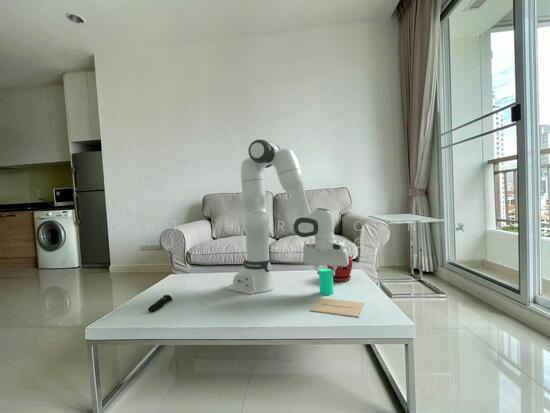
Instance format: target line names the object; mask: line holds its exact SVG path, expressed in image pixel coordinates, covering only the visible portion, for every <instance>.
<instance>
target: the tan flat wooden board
mask: <svg viewBox="0 0 550 413" xmlns="http://www.w3.org/2000/svg"><path fill="white" fill-rule="evenodd" d="M364 304H365V303H364V302H361V301H351V300H344V299H343V300H342V299H336V298H335V299H334V298H333V299H331V298H326V297H325V298H323V297H319V299H318V300H317V301H316V302H314V304H313V305H312V306H311V308H310V309H309V312H315V313H322V314H329V315H330V314H331V315H337V316H345V317H351V318H352V317H354V318H359V316H361V315H360V314H361V312H362V309H363V307H364Z"/></svg>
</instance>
